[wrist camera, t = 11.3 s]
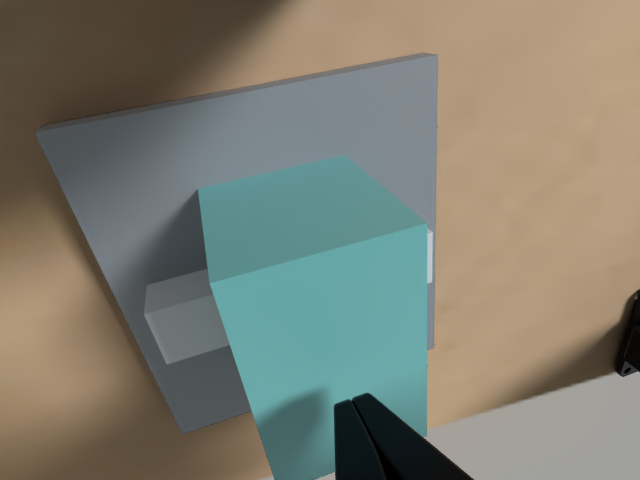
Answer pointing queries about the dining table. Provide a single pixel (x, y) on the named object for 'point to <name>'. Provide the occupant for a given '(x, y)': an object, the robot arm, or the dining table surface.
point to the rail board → (219, 167)
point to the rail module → (318, 302)
